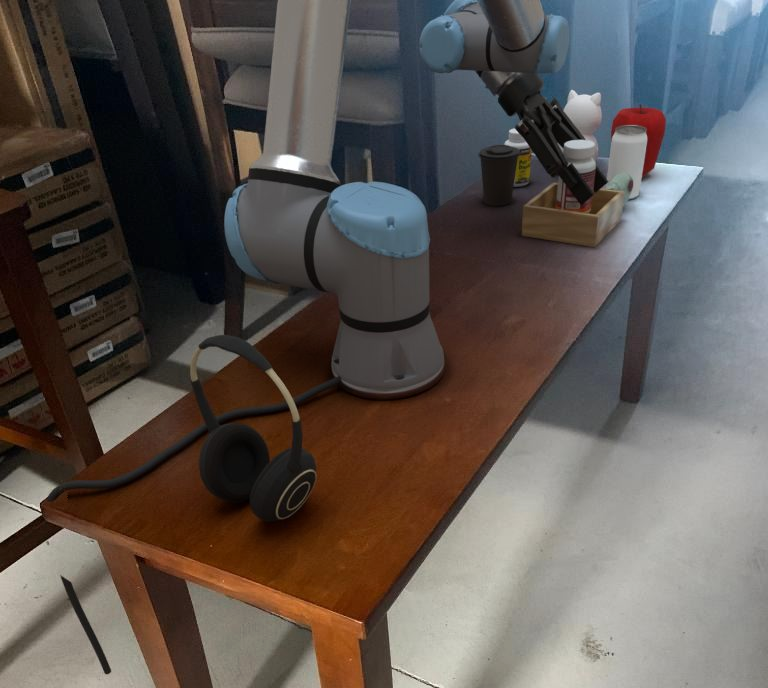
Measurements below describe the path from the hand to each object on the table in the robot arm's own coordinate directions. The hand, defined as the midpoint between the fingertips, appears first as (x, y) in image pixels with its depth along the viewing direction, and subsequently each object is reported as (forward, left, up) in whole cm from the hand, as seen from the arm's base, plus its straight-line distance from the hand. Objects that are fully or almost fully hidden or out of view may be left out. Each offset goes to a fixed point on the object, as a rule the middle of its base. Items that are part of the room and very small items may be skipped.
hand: (594, 193), depth 134 cm
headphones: (-88, +4, -7) cm, 89 cm away
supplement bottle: (+19, +23, -7) cm, 31 cm away
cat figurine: (+30, +15, -7) cm, 34 cm away
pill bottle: (0, +4, -4) cm, 5 cm away
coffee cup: (+8, +22, -7) cm, 24 cm away
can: (+20, +1, -7) cm, 21 cm away
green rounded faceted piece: (+12, -1, -7) cm, 14 cm away
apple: (+32, +3, -7) cm, 33 cm away
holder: (0, +4, -7) cm, 8 cm away
